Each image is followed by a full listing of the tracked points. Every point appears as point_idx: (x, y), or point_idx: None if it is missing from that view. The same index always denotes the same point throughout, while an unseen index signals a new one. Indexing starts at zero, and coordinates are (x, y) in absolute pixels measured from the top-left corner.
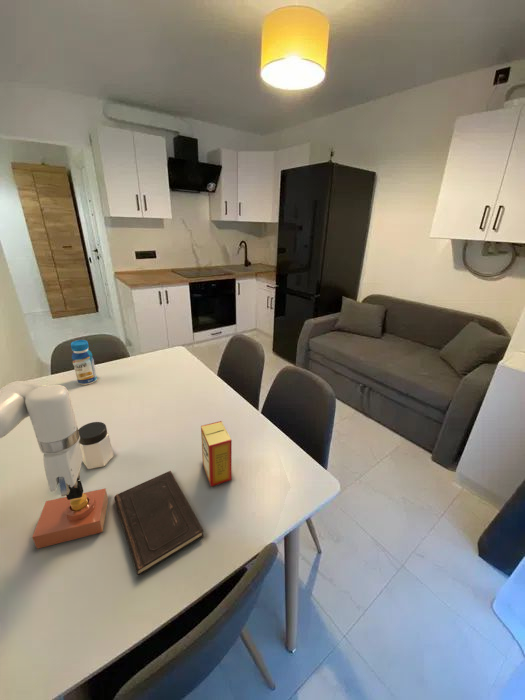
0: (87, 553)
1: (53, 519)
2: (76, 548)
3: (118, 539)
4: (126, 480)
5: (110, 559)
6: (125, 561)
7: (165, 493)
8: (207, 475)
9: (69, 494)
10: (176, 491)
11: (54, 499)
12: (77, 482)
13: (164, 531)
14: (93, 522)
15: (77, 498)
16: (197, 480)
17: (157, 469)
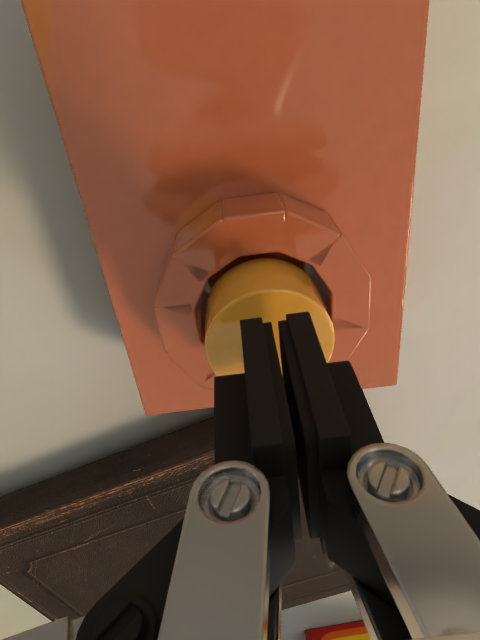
0: (43, 319)
1: (190, 113)
2: (69, 259)
3: (113, 421)
4: (467, 383)
5: (20, 414)
6: (15, 462)
7: (291, 570)
8: (353, 633)
9: (214, 426)
10: (290, 597)
11: (425, 21)
12: (281, 600)
13: (106, 587)
14: (138, 389)
15: (278, 341)
16: (348, 601)
17: (476, 490)
